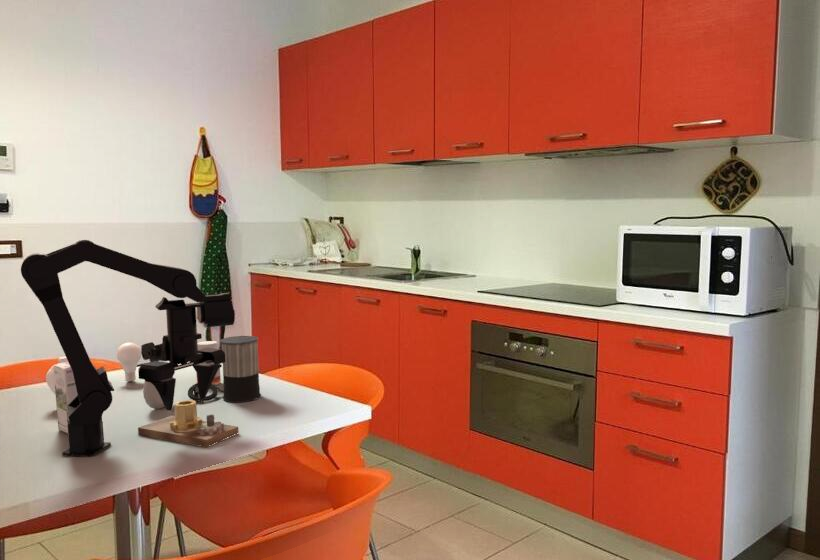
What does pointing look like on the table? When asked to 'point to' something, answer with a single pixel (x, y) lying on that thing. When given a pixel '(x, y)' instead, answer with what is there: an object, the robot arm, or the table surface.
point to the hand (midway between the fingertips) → (186, 404)
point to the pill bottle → (214, 345)
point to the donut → (152, 396)
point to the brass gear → (185, 416)
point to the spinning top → (51, 375)
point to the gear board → (189, 431)
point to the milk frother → (236, 371)
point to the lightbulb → (129, 359)
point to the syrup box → (63, 393)
